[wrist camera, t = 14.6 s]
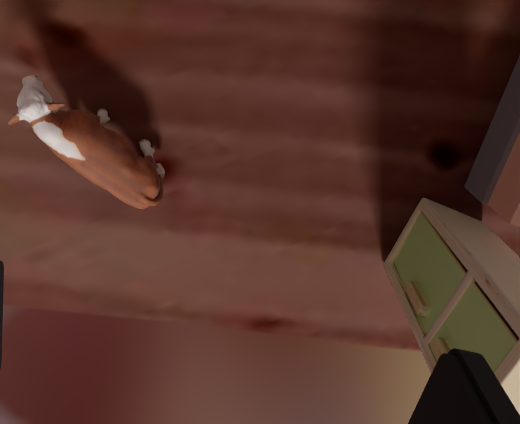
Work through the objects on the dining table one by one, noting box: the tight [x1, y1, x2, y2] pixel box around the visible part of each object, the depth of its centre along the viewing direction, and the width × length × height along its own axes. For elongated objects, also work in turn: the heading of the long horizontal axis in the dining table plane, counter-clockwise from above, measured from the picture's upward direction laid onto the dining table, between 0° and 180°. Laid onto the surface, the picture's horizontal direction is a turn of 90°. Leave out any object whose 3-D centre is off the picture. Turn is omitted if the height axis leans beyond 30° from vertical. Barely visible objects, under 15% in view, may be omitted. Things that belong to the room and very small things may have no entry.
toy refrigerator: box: [384, 198, 520, 415], centre depth 36 cm, size 8×7×21 cm
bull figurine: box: [8, 75, 165, 209], centre depth 39 cm, size 4×13×8 cm, turn 45°
